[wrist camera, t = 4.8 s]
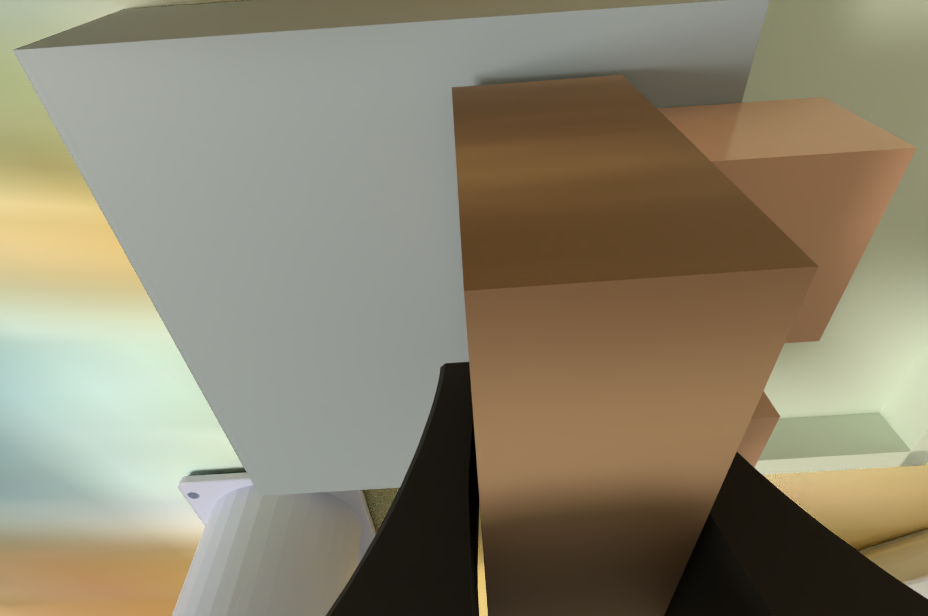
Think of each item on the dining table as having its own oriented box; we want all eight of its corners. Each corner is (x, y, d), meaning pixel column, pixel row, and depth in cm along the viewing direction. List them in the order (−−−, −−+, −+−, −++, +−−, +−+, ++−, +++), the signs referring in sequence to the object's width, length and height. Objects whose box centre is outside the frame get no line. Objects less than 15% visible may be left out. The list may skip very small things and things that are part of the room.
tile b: (760, 270, 12) (819, 340, 10) (592, 280, 12) (619, 353, 10) (823, 96, 10) (916, 147, 8) (612, 111, 10) (653, 165, 8)
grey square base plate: (610, 385, 21) (640, 473, 18) (287, 405, 21) (259, 496, 18) (684, -31, 12) (770, -3, 9) (123, 9, 12) (12, 50, 9)
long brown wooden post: (573, 473, 17) (626, 701, 12) (479, 479, 17) (495, 709, 12) (622, 75, 9) (817, 266, 4) (451, 87, 9) (464, 290, 4)
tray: (882, 415, 22) (924, 465, 20) (610, 431, 23) (626, 483, 21) (1355, -262, 10) (1578, -299, 8) (735, -217, 10) (806, -243, 8)
